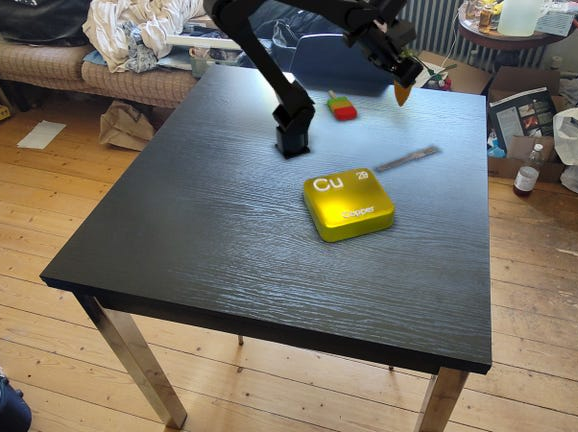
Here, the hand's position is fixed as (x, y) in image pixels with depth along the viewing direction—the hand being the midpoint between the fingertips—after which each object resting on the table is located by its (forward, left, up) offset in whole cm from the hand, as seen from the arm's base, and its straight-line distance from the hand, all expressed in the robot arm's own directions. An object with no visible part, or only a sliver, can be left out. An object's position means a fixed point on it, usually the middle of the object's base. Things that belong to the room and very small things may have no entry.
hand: (408, 79), depth 108 cm
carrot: (-1, 0, -7) cm, 7 cm away
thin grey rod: (-10, -15, -11) cm, 21 cm away
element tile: (-31, -23, -11) cm, 40 cm away
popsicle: (-11, +14, -11) cm, 21 cm away
